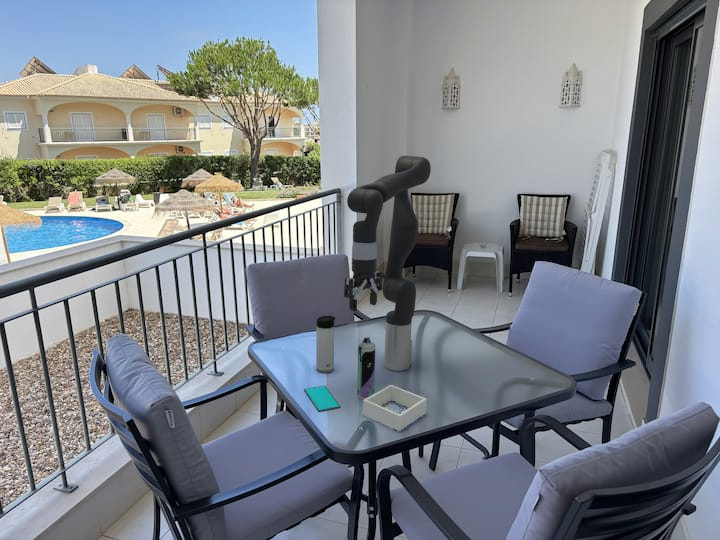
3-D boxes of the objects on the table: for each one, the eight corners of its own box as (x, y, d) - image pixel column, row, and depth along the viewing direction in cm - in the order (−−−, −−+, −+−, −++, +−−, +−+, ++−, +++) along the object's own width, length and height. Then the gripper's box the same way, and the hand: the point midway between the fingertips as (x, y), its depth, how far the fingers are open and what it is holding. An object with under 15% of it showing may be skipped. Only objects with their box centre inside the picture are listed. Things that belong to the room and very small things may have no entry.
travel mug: (332, 374, 178) (332, 320, 173) (314, 372, 179) (314, 318, 174) (336, 366, 184) (337, 314, 179) (319, 364, 185) (319, 313, 180)
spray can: (368, 401, 160) (369, 342, 155) (353, 396, 162) (354, 338, 157) (377, 394, 164) (378, 336, 159) (362, 390, 167) (364, 333, 162)
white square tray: (390, 398, 161) (390, 384, 160) (426, 413, 153) (426, 398, 152) (362, 415, 151) (363, 400, 150) (399, 432, 143) (399, 416, 142)
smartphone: (318, 411, 152) (303, 389, 166) (318, 413, 153) (303, 391, 166) (341, 406, 155) (324, 385, 169) (341, 409, 156) (324, 387, 169)
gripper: (371, 251, 159) (370, 300, 163) (338, 257, 149) (338, 309, 153) (389, 254, 154) (387, 305, 158) (356, 261, 144) (355, 315, 148)
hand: (363, 307), depth 155 cm, fingers open, 8 cm apart
